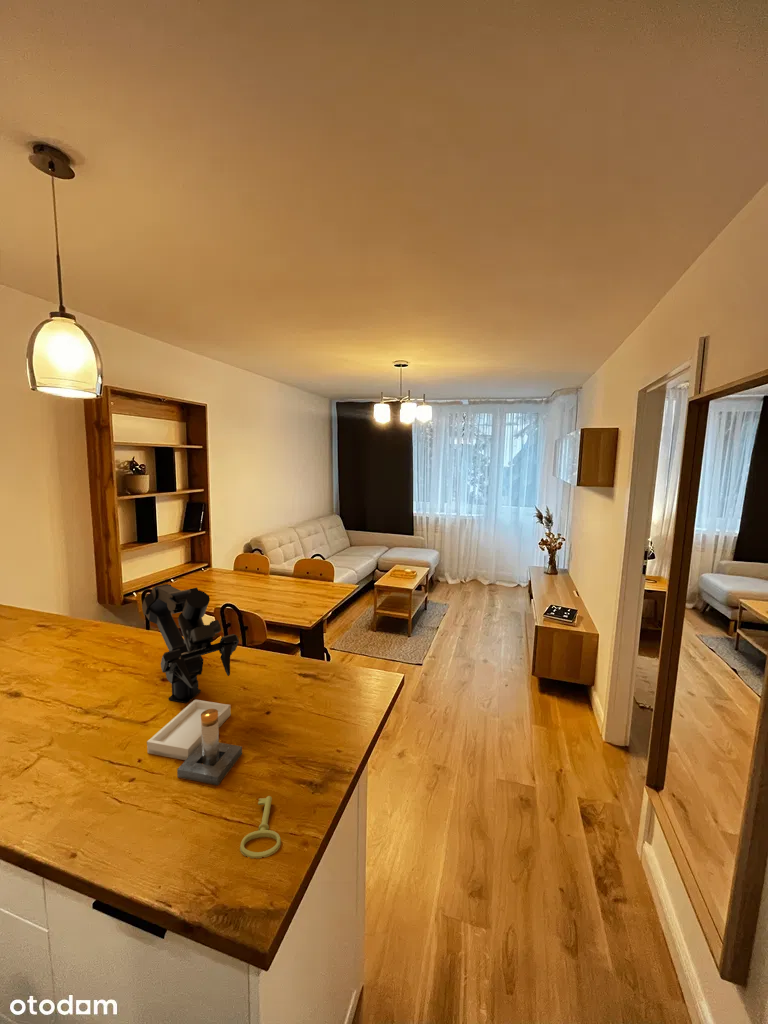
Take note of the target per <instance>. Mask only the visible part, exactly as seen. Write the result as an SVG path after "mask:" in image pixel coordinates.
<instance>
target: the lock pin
mask: <svg viewBox="0 0 768 1024" xmlns="http://www.w3.org/2000/svg"><path fill="white" fill-rule="evenodd" d="M201 732H202V760H203V763H202V764H205V765H210V766H215V764H216V763H217V762H218V761H219V760H220V759H219V742H220V737H219V736H220V735H219V733H220V731H219V728H218V711H217V710H216V709H208V710H205V711H204V712H202V714H201Z"/></svg>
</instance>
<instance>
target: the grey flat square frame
mask: <svg viewBox="0 0 768 1024" xmlns="http://www.w3.org/2000/svg"><path fill="white" fill-rule="evenodd" d="M242 755H243V746H241V745H235V744H232V743H226V742H220V741H219V761H218V762H217V763H216V764H215V766H210V765H205V764H203V760H202V743H201V744H200V746H199V747H198V748H197V749H196V750H195V751H194V752H193V753H192V754H191V755H190V756H189V757H188V758H187V759H186V760H184V761H183V762H182V764H181V765H179V767H178V768H177V770H176V771H177V778H178V779H179V778H180V779H183V780H188V781H194V782H199V783H203V784H209V785H215V786H219V785H220V784H221V783H222V781H223V779H225V777H226V776H227V775H228V773H229V772H230V771H231V770H232V768H233V767H234V765H235V764H237V762H238V760H239V759H240V758H241V756H242Z"/></svg>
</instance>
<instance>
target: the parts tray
mask: <svg viewBox="0 0 768 1024" xmlns="http://www.w3.org/2000/svg"><path fill="white" fill-rule="evenodd" d="M231 707H232V706H231V704H228V703H227V704H226V703H219V702H213V701H207V700H201V699H194V700H193V701H192V700H191V701H190V703H189V704H188V705H187V706H186V707H184V708H183V709H182V710H181V711H180V712H179V713H177V715H176V716H174V717H173V718H172V719H170V721H169V722H168V723H166V724H165V725H164V726H163V727H162V728H161V729H159V730H158V731H157V732H156V733H155V734H154V735H152V737H150V739H148V740H147V741H146V746H147V748H146V749H147V754H151V755H156V756H160V757H161V756H162V757H167V758H172V759H178V760H182V761H185V760H186V759H187V758H188V757H189V756H190V755H191V754H192V753H193V752H194V751H195V750H196V749H197V748H198V747H199V746H200V744H201V743H202V732H201V714H202V712H204V711H205V710H208V709H216V710H217V711H218V729H220V727H221V726H222V725H223V724H224V723H225V722H226V721H227V720H228V719H229V717H231V714H232V712H231V709H232V708H231Z"/></svg>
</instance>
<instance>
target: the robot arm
mask: <svg viewBox="0 0 768 1024" xmlns="http://www.w3.org/2000/svg"><path fill="white" fill-rule="evenodd" d="M210 600H211V599H210V596H209V594H207V593H206V592H205V591H203V590H199V589H198V587H193V588H192V587H191V588H189V589H183V590H182V589H178V588H177V587H174V586H172V585H171V584H169V583H167V584H166V583H165V584H160V585H155V586H153V587H152V589H151V591H150V593H148V594H147V595H146V596H144V599H143V601H142V606H141V607H142V614H143V615H144V616H146V618H147V620H148V621H149V622H151V623H153V624H155V625H157V628H158V630H159V632H160V634H161V636H162V639H163V640H164V643H165V645H166V646H167V649H168V651H166V652H164V653H163V655H162V657H161V660H160V661H161V662H160V668H161V671H162V673H164V674H165V675H166V679H167V681H168V682H169V683H170V685H171V695H170V696H169V697H168V701H170V702H171V701H173V702H178V703H184V704H188V703H189V702H192V700H193V699H194V698H195V697H197V696H198V695H199V694H200V693H201V692H202V689H199V680H198V676H200V675H202V673H203V667H204V658H203V657H202V656H205V655H208V654H211V653H215V652H218V651H219V654H220V660H221V662H222V666H223V669H224V671H225V674H226V676H227V677H229V676H230V675H231V657H232V655H233V653H234V652H236V650H237V647H238V644H239V643H240V639H239V637H238V635H236V634H235V633H232V634H228V635H224V636H221V638H220V641H219V642H217V643H213V642H214V637H216V634H218V633H221V631H222V628H221V627H222V626H221V623H220V621H219V620H218V619H216V620H215V619H214V620H211V621H210V622H209V624H205V623H204V619H203V617H204V616H205V614H206V611H207V609H208V606H209V604H210ZM178 613H180V614H179V615H178V617H177V621H178V625H177V624H176V621H175V619H174V617H173V614H178ZM179 627H180V629H179ZM180 630H181V631H180ZM212 643H213V644H212Z"/></svg>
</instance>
